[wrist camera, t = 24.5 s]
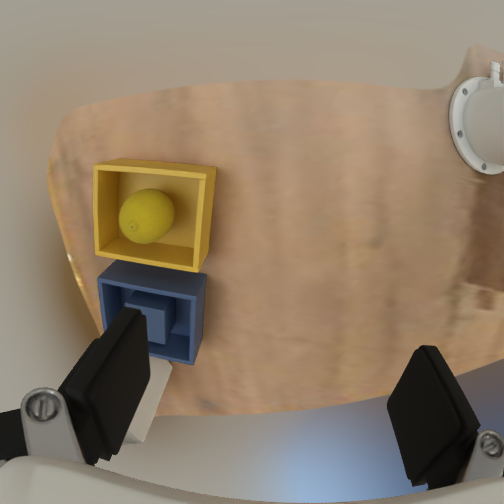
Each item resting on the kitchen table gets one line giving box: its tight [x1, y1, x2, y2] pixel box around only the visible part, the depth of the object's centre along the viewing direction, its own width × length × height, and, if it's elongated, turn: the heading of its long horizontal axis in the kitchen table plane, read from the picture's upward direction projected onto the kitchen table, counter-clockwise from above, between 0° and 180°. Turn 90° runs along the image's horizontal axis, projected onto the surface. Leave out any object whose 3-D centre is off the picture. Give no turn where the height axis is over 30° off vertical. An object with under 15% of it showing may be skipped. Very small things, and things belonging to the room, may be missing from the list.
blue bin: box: [97, 259, 206, 365], centre depth 38 cm, size 10×12×6 cm
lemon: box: [119, 188, 175, 244], centre depth 31 cm, size 6×6×8 cm
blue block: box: [125, 290, 176, 344], centre depth 37 cm, size 5×5×5 cm
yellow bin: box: [93, 159, 217, 273], centre depth 33 cm, size 10×12×6 cm
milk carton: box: [122, 356, 173, 445], centre depth 35 cm, size 7×7×19 cm
